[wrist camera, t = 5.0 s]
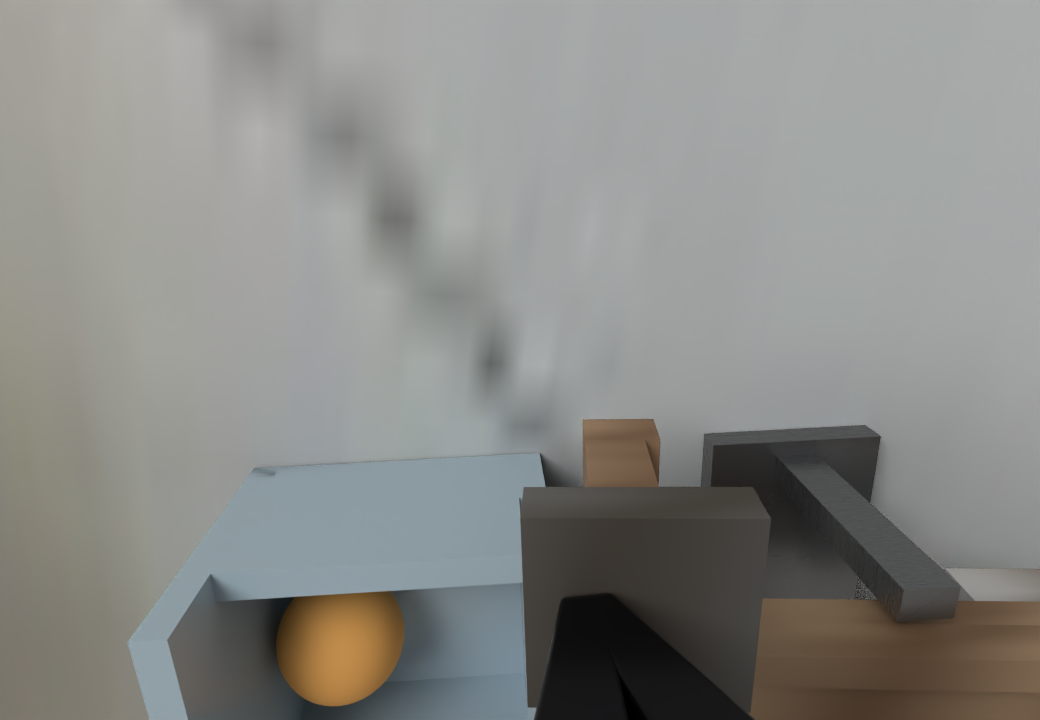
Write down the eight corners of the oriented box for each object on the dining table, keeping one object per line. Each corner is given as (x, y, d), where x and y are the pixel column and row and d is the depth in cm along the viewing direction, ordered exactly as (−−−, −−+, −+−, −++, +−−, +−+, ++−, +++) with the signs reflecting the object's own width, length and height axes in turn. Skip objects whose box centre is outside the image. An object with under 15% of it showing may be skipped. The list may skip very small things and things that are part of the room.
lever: (1201, 338, 14) (1824, 522, 7) (1078, 724, 18) (1412, 1096, 11) (538, 348, 15) (520, 518, 8) (547, 711, 19) (540, 1045, 12)
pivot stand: (865, 425, 19) (1055, 562, 13) (829, 663, 22) (968, 873, 16) (704, 433, 19) (816, 577, 13) (688, 673, 22) (772, 889, 16)
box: (539, 452, 19) (568, 614, 12) (545, 674, 22) (571, 905, 15) (254, 468, 19) (127, 642, 12) (296, 691, 21) (211, 934, 15)
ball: (259, 634, 19) (367, 586, 21) (299, 749, 17) (414, 685, 19) (258, 579, 17) (380, 531, 19) (305, 706, 15) (435, 638, 17)
